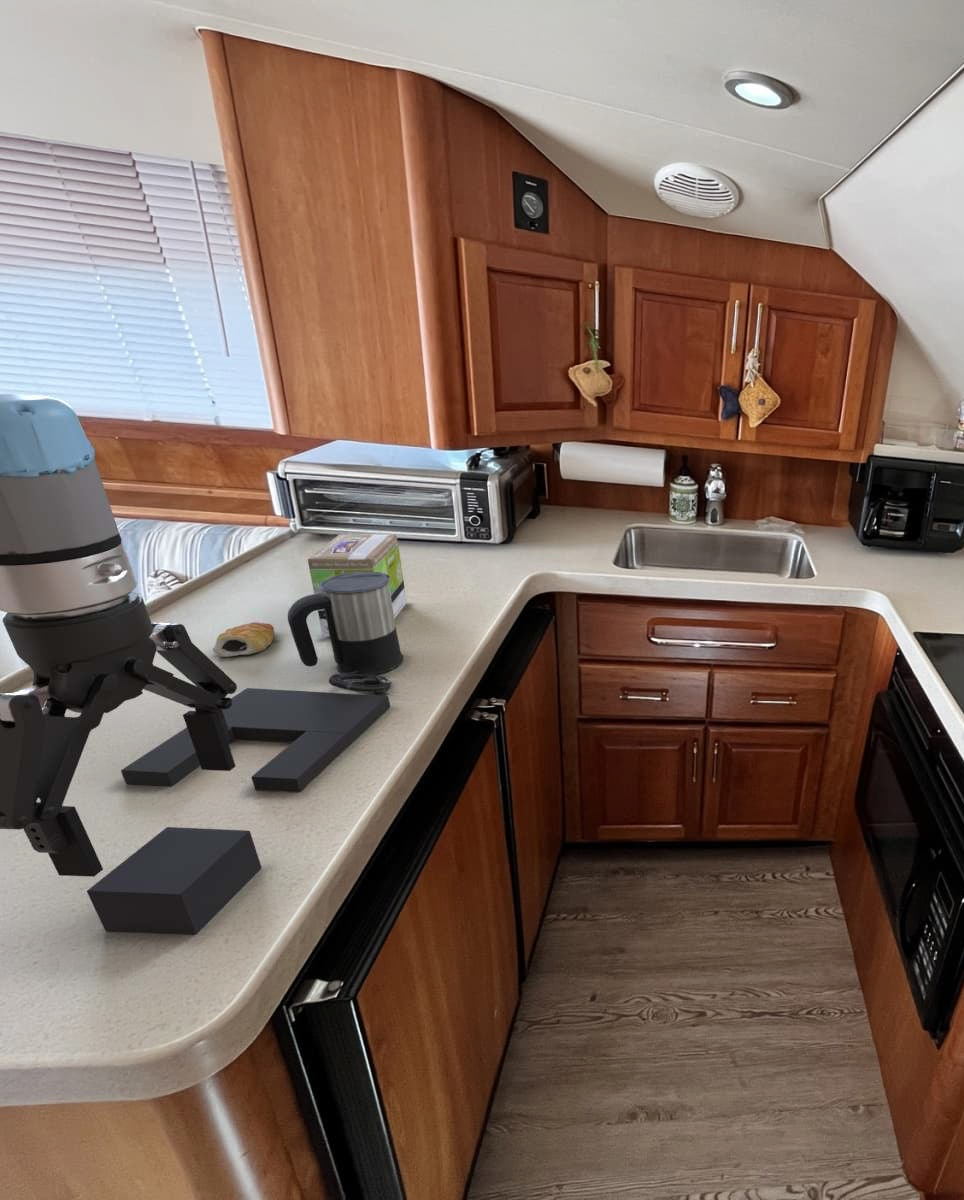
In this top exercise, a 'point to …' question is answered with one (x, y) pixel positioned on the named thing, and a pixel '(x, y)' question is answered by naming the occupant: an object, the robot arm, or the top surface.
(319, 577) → the tea box
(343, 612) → the milk frother
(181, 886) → the black block
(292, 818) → the top surface
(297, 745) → the dark notched slab
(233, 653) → the pastry
